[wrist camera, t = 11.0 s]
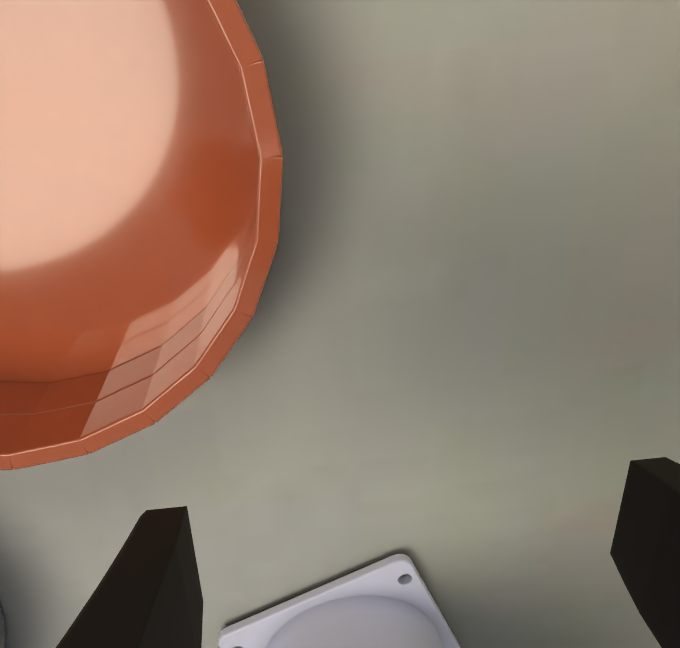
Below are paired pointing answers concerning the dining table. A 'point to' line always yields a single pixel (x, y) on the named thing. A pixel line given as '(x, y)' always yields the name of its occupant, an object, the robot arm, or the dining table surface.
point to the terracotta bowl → (126, 212)
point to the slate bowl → (2, 629)
